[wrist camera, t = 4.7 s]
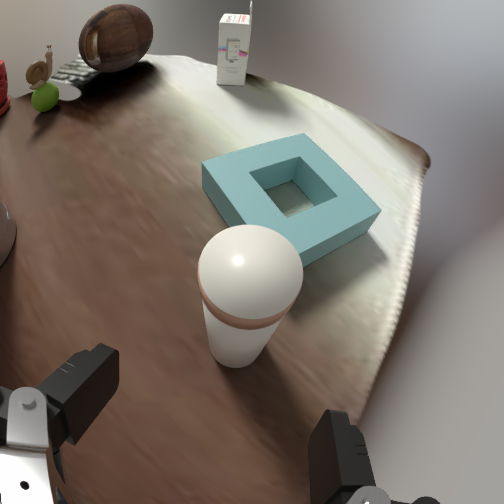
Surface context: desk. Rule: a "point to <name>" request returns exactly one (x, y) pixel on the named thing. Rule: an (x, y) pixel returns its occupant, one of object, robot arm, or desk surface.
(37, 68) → the snail figurine
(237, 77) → the ink cartridge box
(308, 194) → the teal square frame
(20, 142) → the desk surface
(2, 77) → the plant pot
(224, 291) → the white capped post
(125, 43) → the wooden sphere
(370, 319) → the desk surface
